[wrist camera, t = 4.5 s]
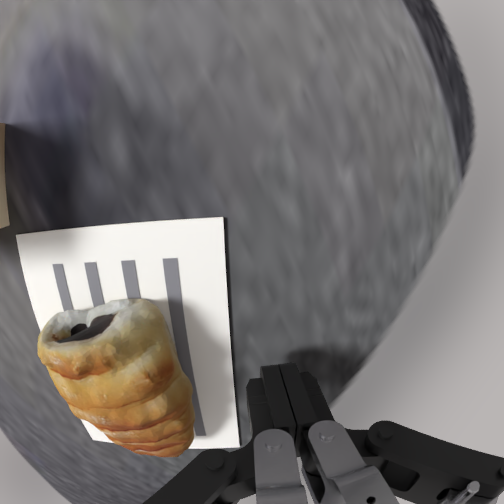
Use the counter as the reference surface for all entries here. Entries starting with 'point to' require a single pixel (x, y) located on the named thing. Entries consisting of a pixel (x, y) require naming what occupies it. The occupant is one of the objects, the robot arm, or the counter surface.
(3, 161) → the maple cube
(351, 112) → the counter surface
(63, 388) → the pastry
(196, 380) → the letter
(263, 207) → the counter surface
